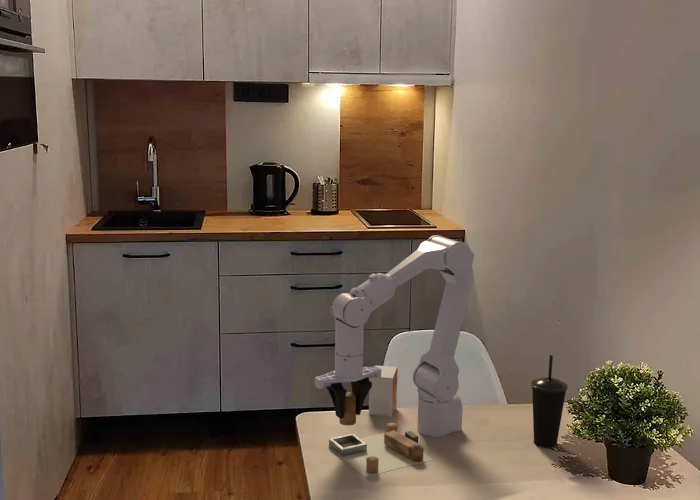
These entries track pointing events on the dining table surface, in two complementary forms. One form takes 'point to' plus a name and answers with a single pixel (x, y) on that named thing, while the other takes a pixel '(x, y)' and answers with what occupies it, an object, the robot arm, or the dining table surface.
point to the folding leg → (404, 445)
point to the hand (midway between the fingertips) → (348, 415)
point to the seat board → (380, 454)
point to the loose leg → (349, 409)
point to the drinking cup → (547, 408)
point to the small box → (383, 392)
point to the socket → (357, 448)
